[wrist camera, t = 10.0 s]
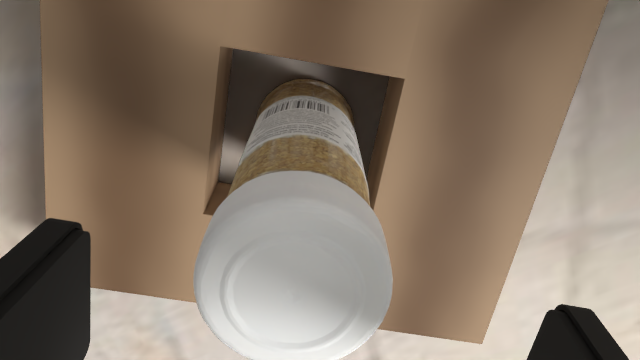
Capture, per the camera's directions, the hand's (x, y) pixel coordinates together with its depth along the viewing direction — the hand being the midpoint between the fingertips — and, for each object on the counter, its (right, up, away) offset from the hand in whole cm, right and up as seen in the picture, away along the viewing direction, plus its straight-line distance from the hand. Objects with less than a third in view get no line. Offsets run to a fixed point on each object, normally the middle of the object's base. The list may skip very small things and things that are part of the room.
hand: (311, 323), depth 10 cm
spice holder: (-1, +5, +13) cm, 14 cm away
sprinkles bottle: (0, +6, +14) cm, 15 cm away
